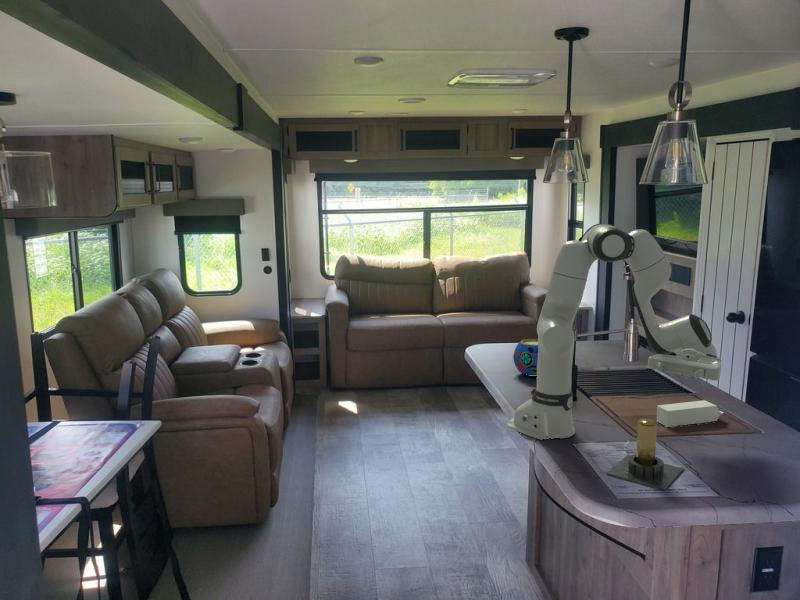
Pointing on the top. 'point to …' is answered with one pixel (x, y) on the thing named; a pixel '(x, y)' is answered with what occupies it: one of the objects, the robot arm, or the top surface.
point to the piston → (646, 442)
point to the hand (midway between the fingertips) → (676, 372)
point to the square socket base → (646, 472)
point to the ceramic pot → (526, 356)
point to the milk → (687, 413)
